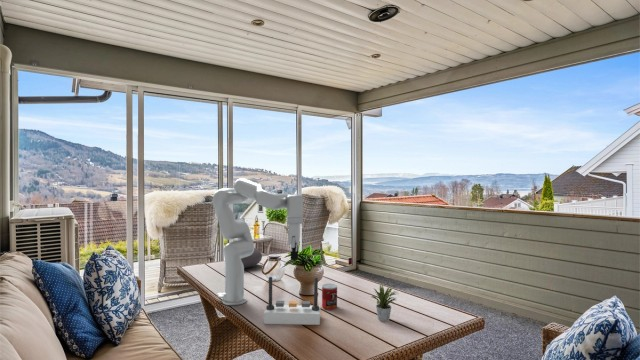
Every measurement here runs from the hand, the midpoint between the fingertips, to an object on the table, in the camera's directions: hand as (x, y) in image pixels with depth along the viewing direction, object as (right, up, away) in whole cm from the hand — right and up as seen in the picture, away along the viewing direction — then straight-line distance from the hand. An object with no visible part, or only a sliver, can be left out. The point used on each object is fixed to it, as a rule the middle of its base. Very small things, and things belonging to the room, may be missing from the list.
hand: (294, 258), depth 174 cm
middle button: (0, -21, -5) cm, 21 cm away
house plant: (+42, -28, -5) cm, 50 cm away
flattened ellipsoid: (-42, -26, +91) cm, 104 cm away
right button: (+6, -21, -5) cm, 22 cm away
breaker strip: (0, -27, -5) cm, 28 cm away
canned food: (+17, -27, +12) cm, 34 cm away
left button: (-6, -21, -5) cm, 22 cm away
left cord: (-11, -22, -5) cm, 25 cm away
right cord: (+10, -22, -5) cm, 25 cm away
